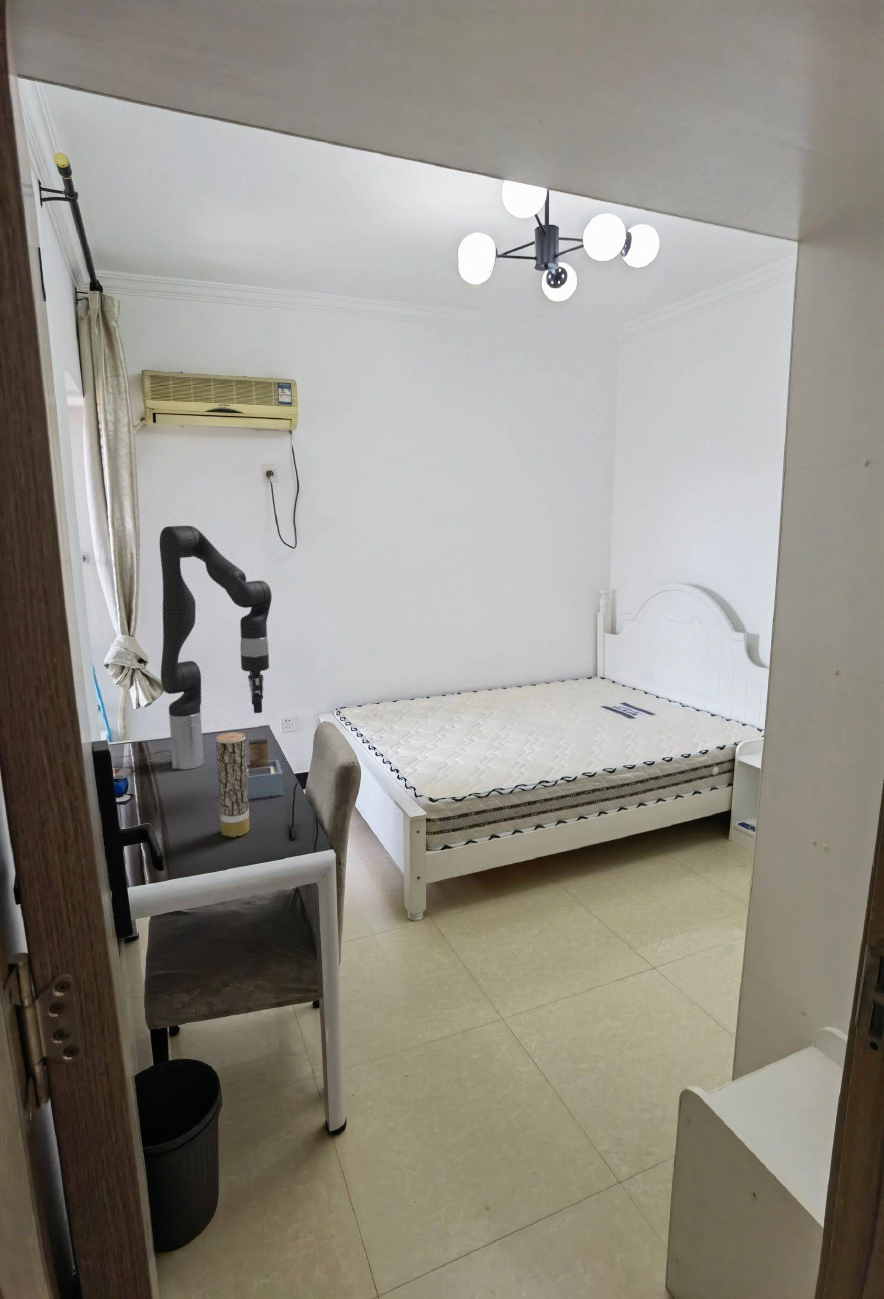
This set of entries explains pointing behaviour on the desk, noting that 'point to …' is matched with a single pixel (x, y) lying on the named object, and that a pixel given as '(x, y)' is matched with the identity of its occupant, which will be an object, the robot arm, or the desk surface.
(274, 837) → the desk surface
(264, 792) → the blue open box
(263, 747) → the wooden plank
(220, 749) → the bark log cylinder
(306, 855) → the desk surface
